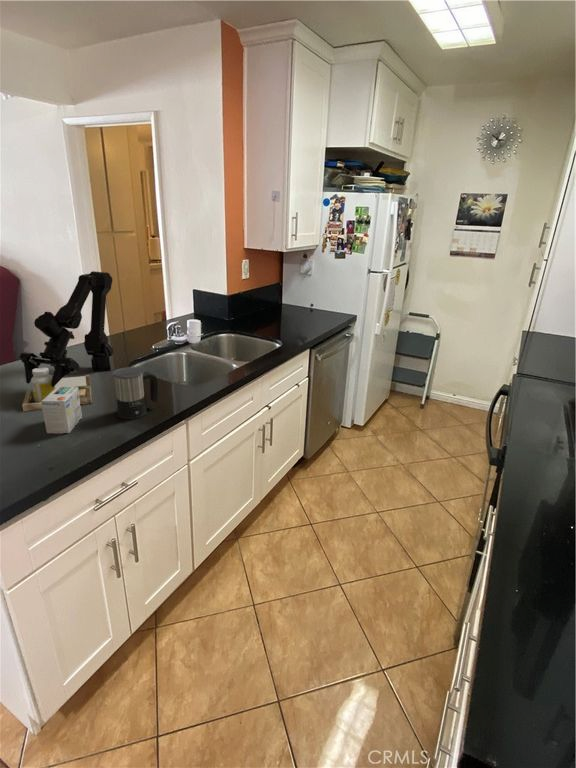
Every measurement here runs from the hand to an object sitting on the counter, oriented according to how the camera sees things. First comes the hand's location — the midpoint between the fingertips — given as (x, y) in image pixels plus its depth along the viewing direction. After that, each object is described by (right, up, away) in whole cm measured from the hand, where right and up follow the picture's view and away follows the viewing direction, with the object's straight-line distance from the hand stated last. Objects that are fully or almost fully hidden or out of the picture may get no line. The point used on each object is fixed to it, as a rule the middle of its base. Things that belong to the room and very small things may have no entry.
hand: (39, 384), depth 136 cm
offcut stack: (+8, -5, +8) cm, 12 cm away
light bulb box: (+14, -13, -10) cm, 21 cm away
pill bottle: (0, -6, +4) cm, 7 cm away
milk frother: (+29, -8, +3) cm, 31 cm away
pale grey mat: (+1, 0, +17) cm, 17 cm away
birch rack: (+3, -5, +5) cm, 8 cm away
